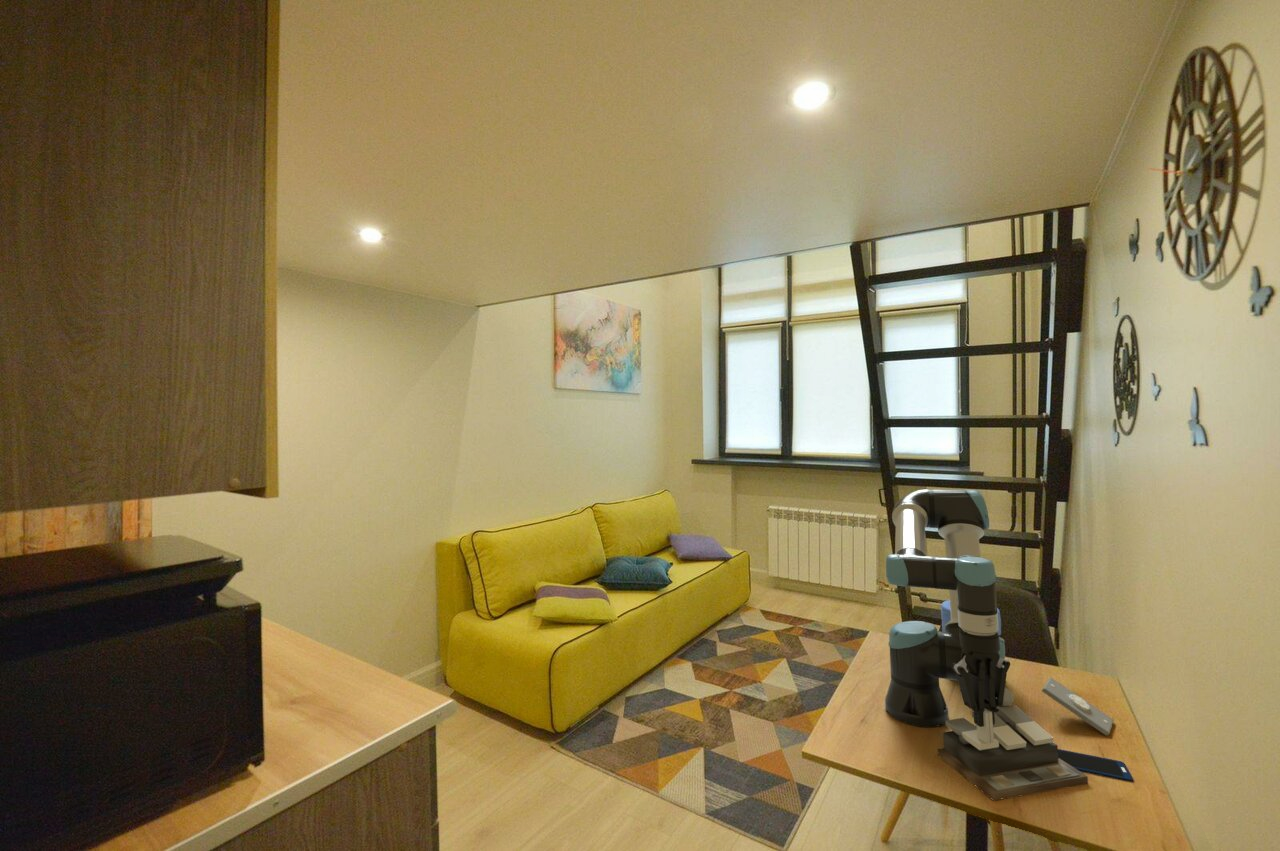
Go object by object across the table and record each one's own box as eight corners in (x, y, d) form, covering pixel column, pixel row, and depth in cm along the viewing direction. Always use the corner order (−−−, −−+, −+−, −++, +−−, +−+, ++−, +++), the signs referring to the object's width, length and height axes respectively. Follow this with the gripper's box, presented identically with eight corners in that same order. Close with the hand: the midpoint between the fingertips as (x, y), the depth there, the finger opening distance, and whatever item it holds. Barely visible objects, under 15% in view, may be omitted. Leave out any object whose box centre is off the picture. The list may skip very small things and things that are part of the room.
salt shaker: (997, 741, 133) (1006, 707, 127) (976, 721, 137) (984, 688, 131) (1014, 730, 134) (1024, 696, 128) (992, 711, 139) (1001, 678, 133)
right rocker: (996, 717, 129) (998, 708, 129) (1013, 714, 130) (1015, 705, 130) (1033, 750, 120) (1035, 741, 119) (1051, 747, 121) (1053, 737, 120)
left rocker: (946, 731, 126) (945, 720, 127) (964, 728, 127) (963, 717, 127) (979, 756, 117) (979, 744, 117) (999, 753, 117) (998, 741, 118)
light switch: (1112, 730, 130) (1045, 685, 140) (1097, 747, 132) (1033, 701, 142) (1116, 716, 136) (1052, 674, 146) (1102, 733, 138) (1040, 690, 148)
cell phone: (1135, 784, 114) (1134, 780, 114) (1053, 767, 121) (1053, 763, 121) (1124, 765, 121) (1124, 761, 121) (1047, 749, 128) (1047, 746, 128)
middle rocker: (970, 721, 128) (972, 712, 127) (988, 718, 129) (990, 709, 128) (1005, 755, 118) (1007, 745, 118) (1024, 752, 119) (1026, 742, 119)
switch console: (937, 755, 127) (936, 732, 127) (1022, 741, 131) (1021, 719, 131) (993, 800, 111) (992, 774, 111) (1087, 783, 115) (1086, 758, 115)
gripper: (965, 639, 114) (972, 753, 113) (1019, 632, 116) (1026, 745, 115) (939, 627, 121) (946, 735, 120) (990, 621, 123) (997, 727, 123)
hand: (985, 739), depth 118 cm, fingers closed
